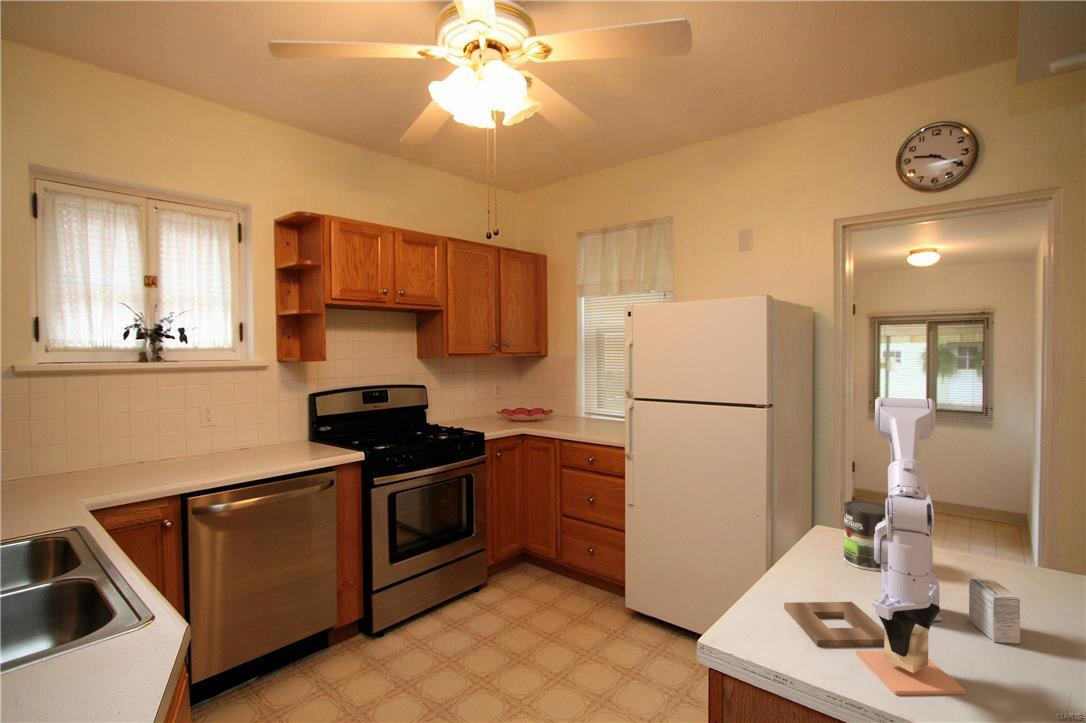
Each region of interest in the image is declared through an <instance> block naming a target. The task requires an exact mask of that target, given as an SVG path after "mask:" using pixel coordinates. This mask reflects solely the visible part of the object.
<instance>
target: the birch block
mask: <svg viewBox="0 0 1086 723" xmlns="http://www.w3.org/2000/svg"><path fill="white" fill-rule="evenodd" d="M884 630H885V629H884ZM883 649H884V659H886V660H888V661H890V662H892V663H894V664H896V665H898V666H900V667H902V668H904V669H906V670H908V671H910V672H912V673H914V672H916V671H918V670H920V669H921V668H923V667H925V666H927V665H928V659H929V632H928V629H927V628H924V627H922V626H919V625H917V624H916V625H915V626H914V628H913V630H912V633H911V636H910V642H909V649H908V653H907V656H905V657H903V656H901V655H898V654H896V653H894V652H892V650H891V647H890V643H889V640H888V636H887V633H886V630H885V638H884V647H883Z"/></svg>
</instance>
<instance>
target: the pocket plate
mask: <svg viewBox="0 0 1086 723" xmlns="http://www.w3.org/2000/svg"><path fill="white" fill-rule="evenodd" d="M783 609H784V610H785V611H786V612H787V613H788V614H789V616H790V617H791V618H792V619H793V621H795V623H796V624H797V626H799V627H800V629H802V631H803V632H804V633H805V634H806V636H808V637H809V639H810V640H811V641H812V642H813V643H814V644H815V646H817V647H877V646H878V647H883V646H884V638H885V628H883V627H881V625H880V624H878V623H877V622H876V621H875V620H874V619H872V618H871V617H870V616H869V615H868V614H867V613H866V612H864V611H863V610H862V609H861V608H860V607H859V606H857V605H856V604H855V603H854V602H853V601H825V602H824V601H823V602H822V601H814V602H813V601H810V602H809V601H808V602H804V601H803V602H783ZM826 618H827V619H828V618H830V619H831V618H832V619H833V618H835V619H837V618H838V619H840V618H843V619H844V621H846V622H847V623H848V624H849V625H850V626H851V627H828V626H827V625H826V624H825V623H824V622H823V621H822V620H821V619H826Z"/></svg>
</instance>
